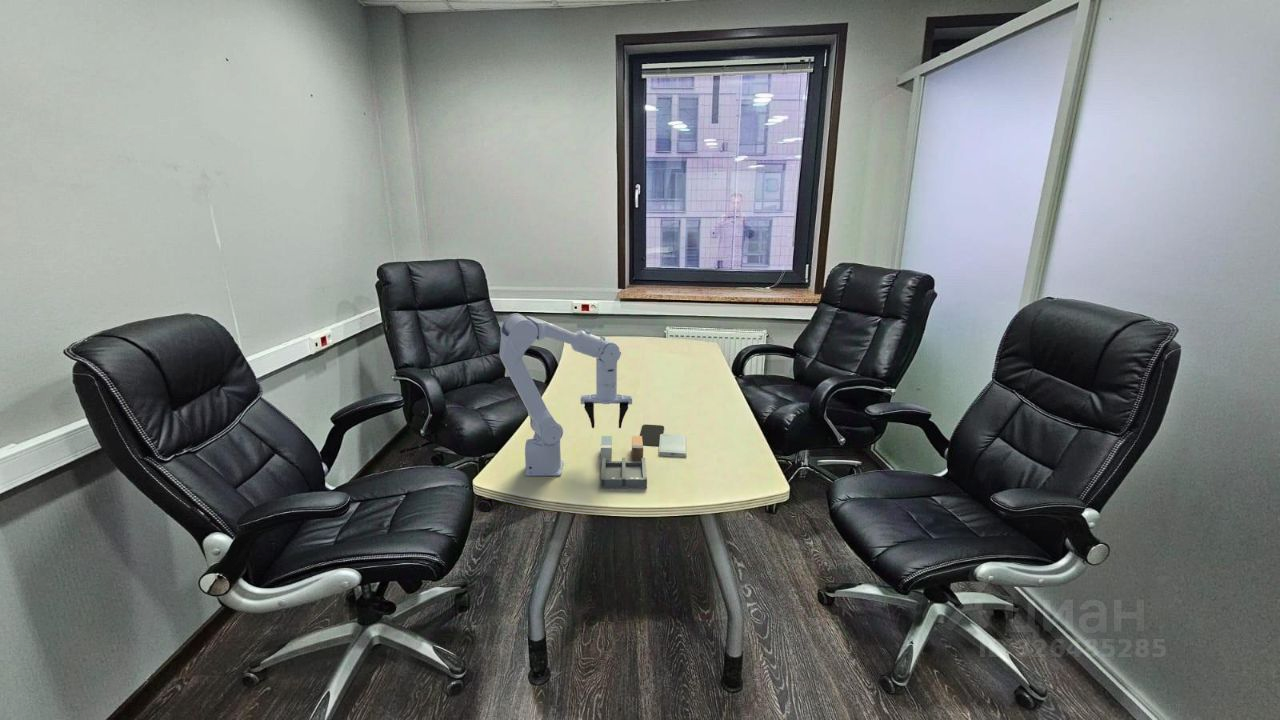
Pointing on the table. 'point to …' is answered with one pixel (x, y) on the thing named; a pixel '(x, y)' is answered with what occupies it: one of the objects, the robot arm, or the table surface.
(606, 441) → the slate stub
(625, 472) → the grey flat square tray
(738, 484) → the table surface
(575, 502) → the table surface
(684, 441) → the hard drive
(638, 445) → the terracotta stub
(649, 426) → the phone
